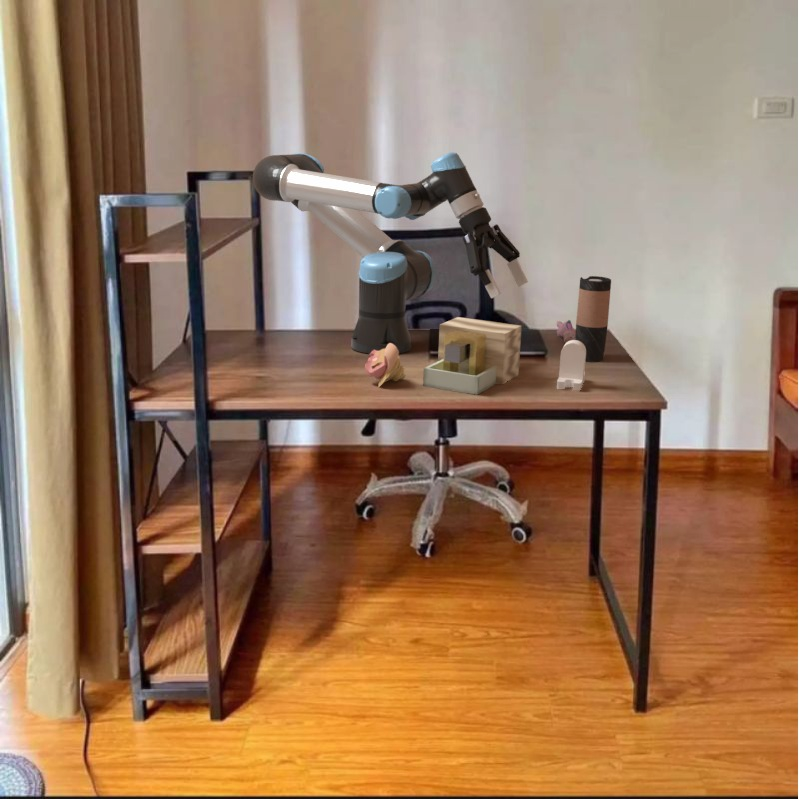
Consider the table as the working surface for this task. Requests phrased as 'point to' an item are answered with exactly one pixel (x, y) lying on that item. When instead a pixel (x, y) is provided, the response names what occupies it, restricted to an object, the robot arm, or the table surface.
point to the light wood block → (489, 345)
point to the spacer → (476, 351)
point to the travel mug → (593, 316)
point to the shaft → (457, 352)
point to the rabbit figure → (566, 331)
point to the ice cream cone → (385, 364)
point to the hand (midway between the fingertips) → (510, 290)
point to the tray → (458, 379)
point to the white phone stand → (572, 365)
